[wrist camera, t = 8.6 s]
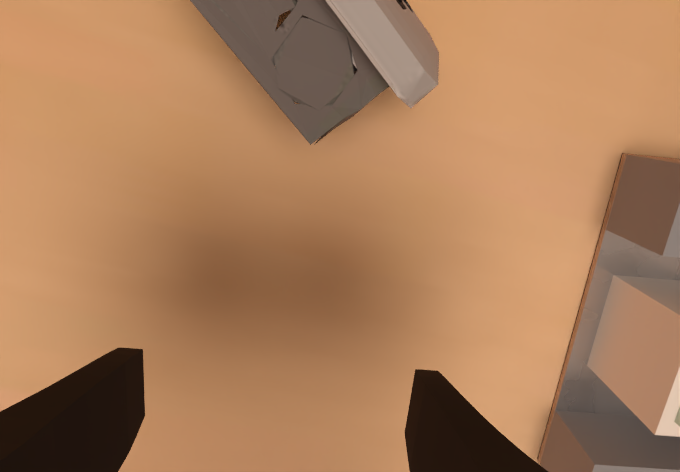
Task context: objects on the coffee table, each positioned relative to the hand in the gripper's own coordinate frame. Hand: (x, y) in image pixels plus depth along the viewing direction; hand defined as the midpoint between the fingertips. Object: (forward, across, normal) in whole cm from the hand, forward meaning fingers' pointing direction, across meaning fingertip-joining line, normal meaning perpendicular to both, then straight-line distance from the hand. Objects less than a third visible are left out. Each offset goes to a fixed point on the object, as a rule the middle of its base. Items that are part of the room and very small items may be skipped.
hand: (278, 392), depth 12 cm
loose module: (+10, -17, +2) cm, 20 cm away
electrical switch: (+10, 0, -11) cm, 15 cm away
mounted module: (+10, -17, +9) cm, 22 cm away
